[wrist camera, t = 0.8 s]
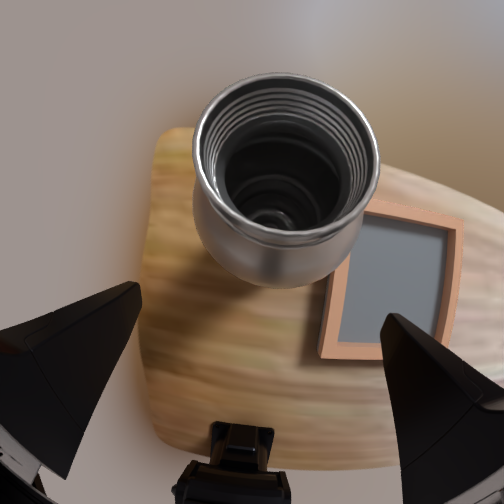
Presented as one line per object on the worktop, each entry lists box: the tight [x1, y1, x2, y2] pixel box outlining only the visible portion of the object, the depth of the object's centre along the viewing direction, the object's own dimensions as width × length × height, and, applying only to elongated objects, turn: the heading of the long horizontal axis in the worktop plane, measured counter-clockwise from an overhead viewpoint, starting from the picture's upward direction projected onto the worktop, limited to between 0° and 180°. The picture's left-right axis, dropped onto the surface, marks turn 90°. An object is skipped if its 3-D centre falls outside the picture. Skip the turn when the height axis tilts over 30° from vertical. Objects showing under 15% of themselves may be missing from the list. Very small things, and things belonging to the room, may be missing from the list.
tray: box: [316, 199, 464, 360], centre depth 23 cm, size 14×14×2 cm
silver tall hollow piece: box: [192, 73, 380, 289], centre depth 15 cm, size 6×7×20 cm
